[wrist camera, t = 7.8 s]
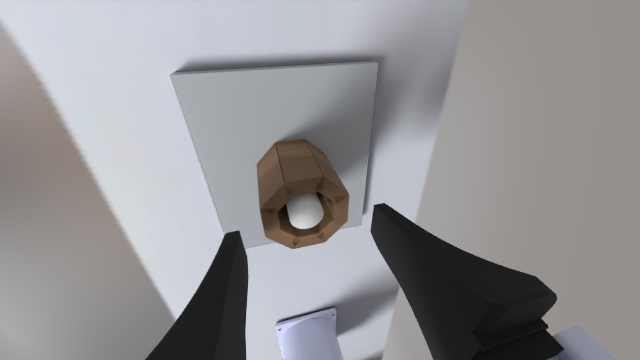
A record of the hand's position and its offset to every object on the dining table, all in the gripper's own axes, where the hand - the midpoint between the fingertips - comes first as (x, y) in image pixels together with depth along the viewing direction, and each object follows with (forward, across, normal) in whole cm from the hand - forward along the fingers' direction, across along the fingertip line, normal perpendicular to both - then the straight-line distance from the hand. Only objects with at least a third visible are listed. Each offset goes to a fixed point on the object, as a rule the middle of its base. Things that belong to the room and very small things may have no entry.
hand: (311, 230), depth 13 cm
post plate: (+7, 0, 0) cm, 7 cm away
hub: (+6, 0, 0) cm, 6 cm away
